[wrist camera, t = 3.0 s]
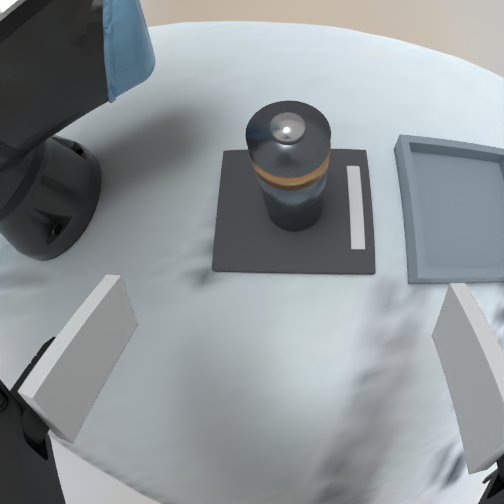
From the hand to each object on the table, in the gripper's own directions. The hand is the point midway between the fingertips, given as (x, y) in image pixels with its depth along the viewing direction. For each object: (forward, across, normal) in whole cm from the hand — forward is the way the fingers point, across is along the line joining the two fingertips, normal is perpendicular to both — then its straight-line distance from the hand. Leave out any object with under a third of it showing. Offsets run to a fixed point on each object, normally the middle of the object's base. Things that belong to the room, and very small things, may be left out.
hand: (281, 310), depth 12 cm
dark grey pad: (+18, 0, -3) cm, 18 cm away
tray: (+18, +17, -3) cm, 25 cm away
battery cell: (+17, 0, -3) cm, 18 cm away
